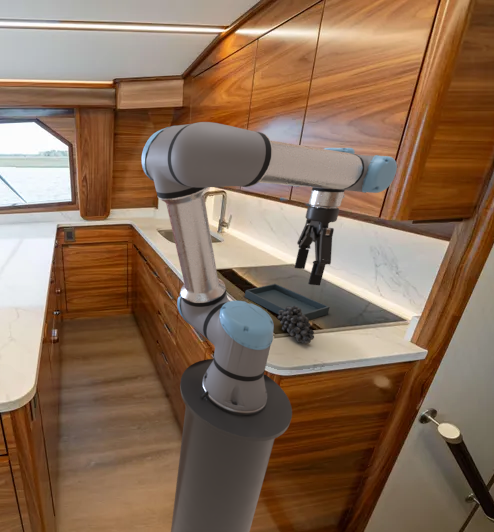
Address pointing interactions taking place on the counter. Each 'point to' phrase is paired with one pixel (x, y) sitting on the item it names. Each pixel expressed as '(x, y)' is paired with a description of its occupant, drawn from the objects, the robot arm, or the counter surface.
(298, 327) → the fruit
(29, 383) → the counter surface
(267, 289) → the tray
